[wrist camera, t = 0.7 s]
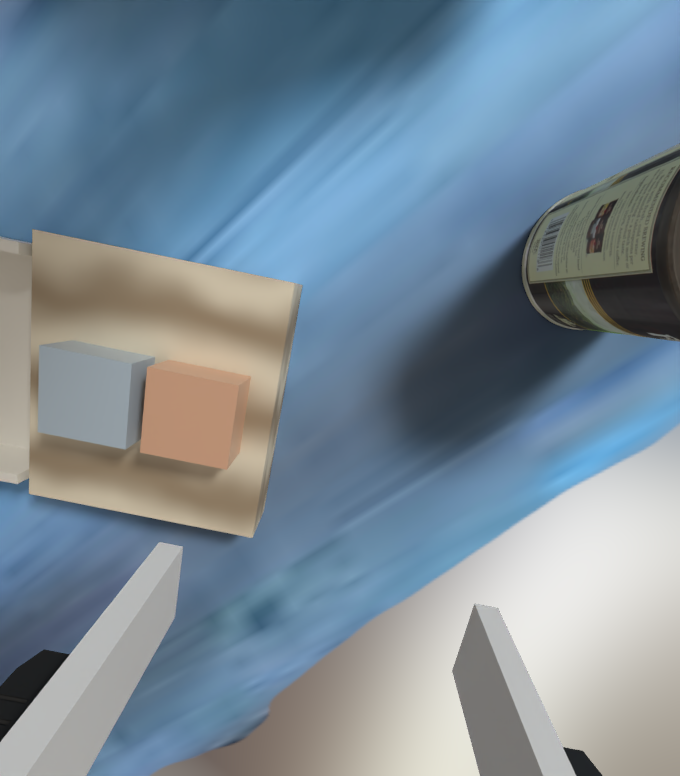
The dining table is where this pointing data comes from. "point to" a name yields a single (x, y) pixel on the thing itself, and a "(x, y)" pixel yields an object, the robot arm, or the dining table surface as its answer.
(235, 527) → the wavy grain square board
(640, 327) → the coffee can
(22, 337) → the tray
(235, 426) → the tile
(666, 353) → the dining table surface
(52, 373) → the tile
